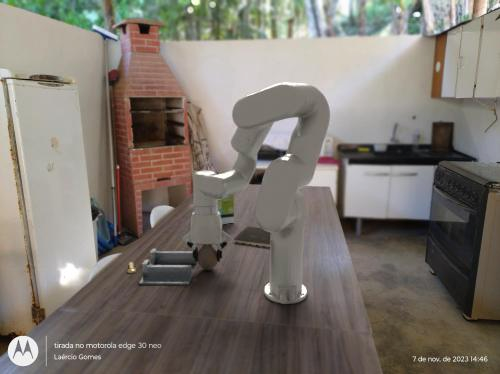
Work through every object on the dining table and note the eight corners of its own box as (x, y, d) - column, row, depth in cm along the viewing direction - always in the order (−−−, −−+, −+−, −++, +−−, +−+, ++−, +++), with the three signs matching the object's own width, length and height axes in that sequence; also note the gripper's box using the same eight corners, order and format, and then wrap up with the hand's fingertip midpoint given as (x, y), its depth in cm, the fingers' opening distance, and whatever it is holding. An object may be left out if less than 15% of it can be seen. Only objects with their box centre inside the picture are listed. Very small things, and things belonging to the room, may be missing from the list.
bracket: (189, 284, 117) (188, 270, 115) (139, 284, 117) (138, 269, 116) (198, 257, 137) (198, 244, 135) (156, 256, 137) (155, 244, 136)
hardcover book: (289, 252, 142) (289, 246, 141) (233, 244, 150) (233, 238, 149) (299, 237, 156) (299, 232, 156) (248, 230, 164) (248, 225, 164)
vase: (208, 261, 131) (207, 237, 129) (222, 266, 127) (222, 242, 125) (193, 268, 126) (192, 243, 124) (207, 274, 122) (206, 248, 119)
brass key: (136, 273, 125) (136, 270, 125) (127, 274, 124) (127, 272, 124) (135, 263, 132) (135, 261, 131) (127, 265, 131) (126, 262, 131)
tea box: (234, 223, 172) (234, 192, 168) (213, 226, 168) (212, 194, 165) (224, 214, 185) (224, 185, 182) (204, 216, 182) (203, 187, 178)
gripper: (176, 212, 118) (179, 264, 122) (232, 212, 118) (232, 265, 122) (181, 205, 125) (183, 255, 129) (233, 205, 125) (234, 255, 129)
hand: (207, 259), depth 126 cm, fingers closed on vase, 6 cm apart
